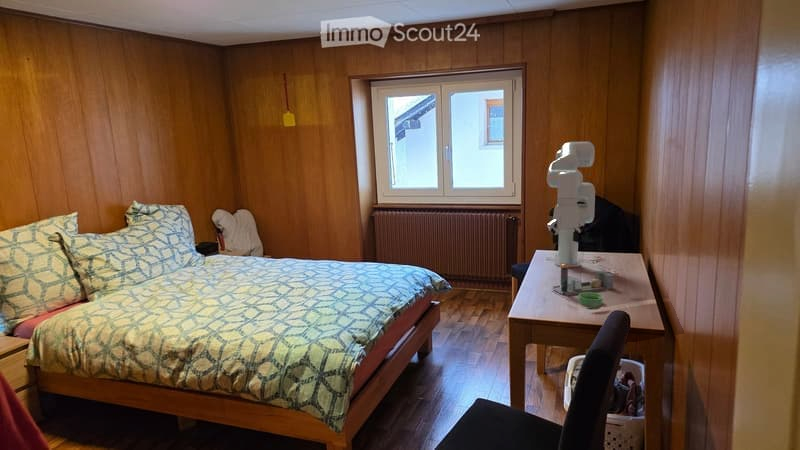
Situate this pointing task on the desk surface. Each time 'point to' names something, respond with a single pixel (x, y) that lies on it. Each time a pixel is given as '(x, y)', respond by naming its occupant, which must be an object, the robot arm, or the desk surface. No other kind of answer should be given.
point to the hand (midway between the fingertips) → (565, 242)
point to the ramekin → (590, 299)
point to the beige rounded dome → (596, 283)
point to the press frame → (606, 285)
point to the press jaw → (567, 281)
